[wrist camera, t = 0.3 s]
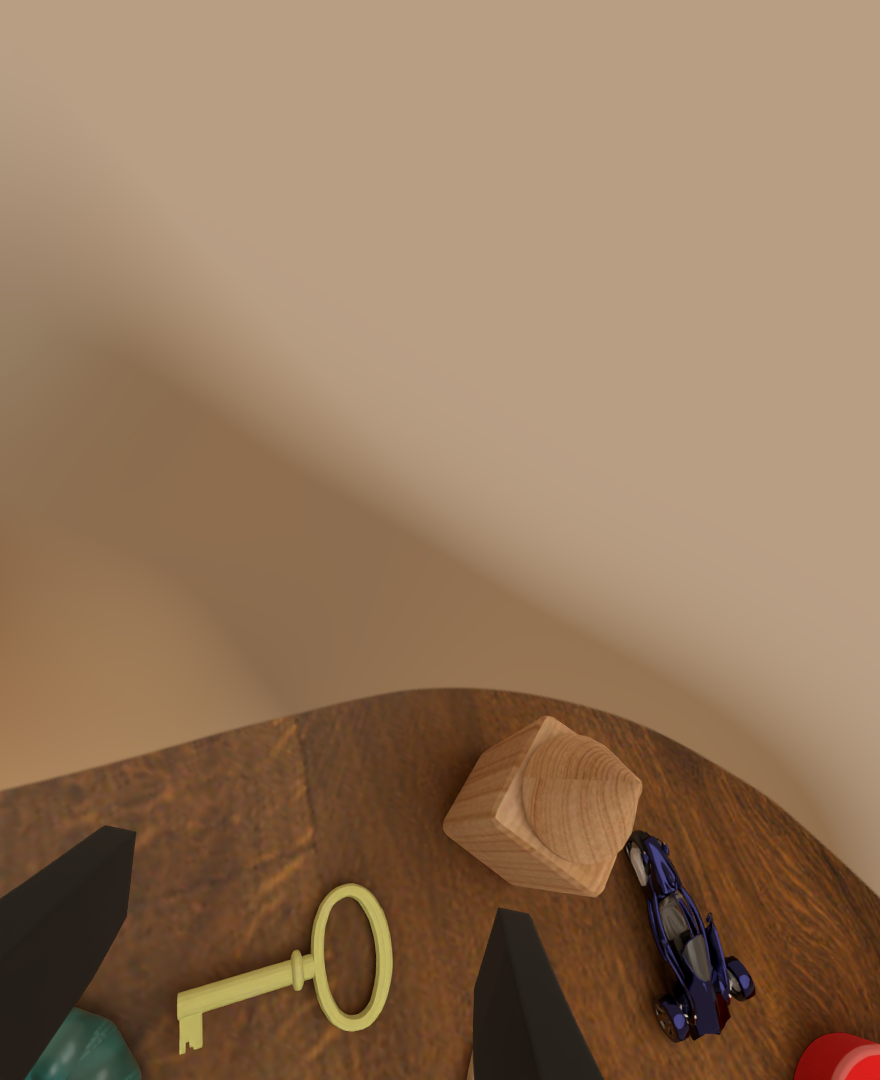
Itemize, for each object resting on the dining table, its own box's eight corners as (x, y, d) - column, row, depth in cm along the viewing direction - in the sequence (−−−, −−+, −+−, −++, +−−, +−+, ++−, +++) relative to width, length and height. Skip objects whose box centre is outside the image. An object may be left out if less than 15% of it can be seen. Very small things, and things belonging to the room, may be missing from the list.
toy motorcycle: (744, 1006, 37) (787, 1021, 34) (669, 1054, 35) (707, 1074, 32) (657, 817, 42) (687, 814, 39) (587, 849, 40) (612, 848, 37)
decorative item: (557, 801, 41) (732, 763, 24) (516, 890, 38) (685, 918, 21) (483, 747, 42) (602, 673, 25) (436, 829, 39) (536, 808, 22)
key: (169, 996, 32) (161, 1004, 30) (363, 868, 37) (366, 869, 35) (214, 1143, 29) (208, 1162, 27) (415, 984, 34) (421, 992, 32)
